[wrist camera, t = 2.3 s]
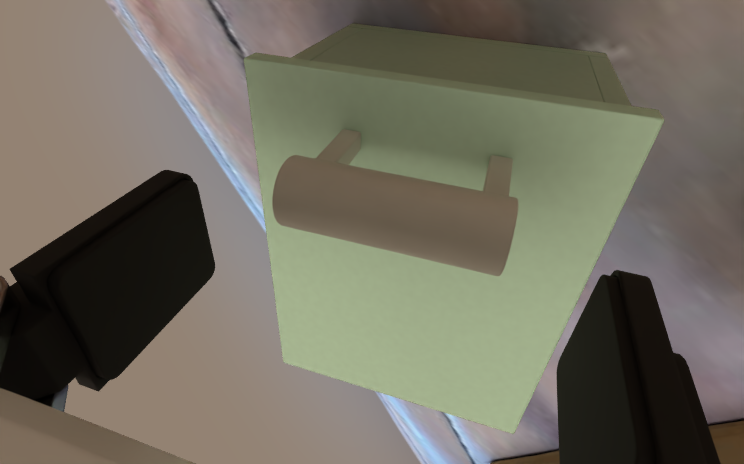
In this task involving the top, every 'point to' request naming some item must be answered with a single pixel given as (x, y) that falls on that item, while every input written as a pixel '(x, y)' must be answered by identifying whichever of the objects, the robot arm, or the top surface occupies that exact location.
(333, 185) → the lid
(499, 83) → the box
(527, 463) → the caddy
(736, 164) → the top surface
